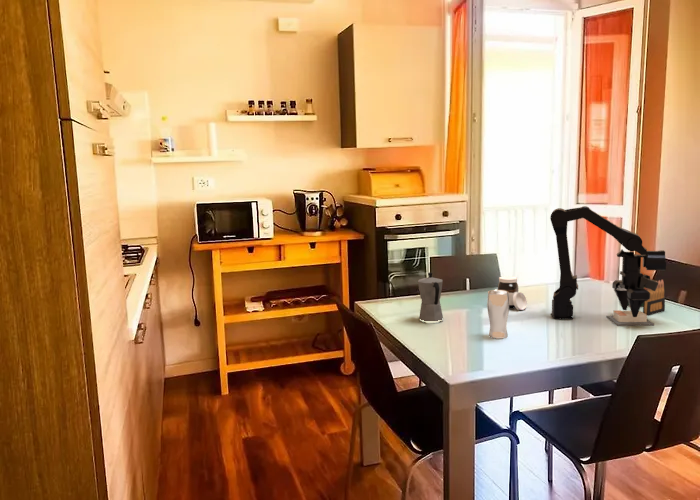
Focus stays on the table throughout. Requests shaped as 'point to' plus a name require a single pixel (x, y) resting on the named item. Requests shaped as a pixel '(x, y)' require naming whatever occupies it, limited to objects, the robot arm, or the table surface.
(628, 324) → the card mat
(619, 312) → the card deck
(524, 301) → the spread jar
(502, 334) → the beer glass
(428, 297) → the coffeepot
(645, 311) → the ammunition clip
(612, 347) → the table surface
